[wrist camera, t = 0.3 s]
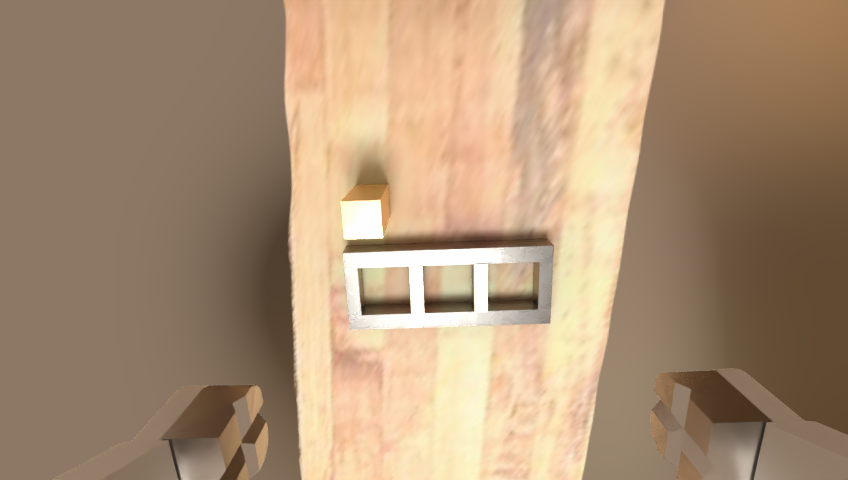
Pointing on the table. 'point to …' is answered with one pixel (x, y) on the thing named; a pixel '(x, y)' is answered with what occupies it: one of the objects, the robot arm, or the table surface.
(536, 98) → the table surface
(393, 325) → the grey compartment tray
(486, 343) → the table surface
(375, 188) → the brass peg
